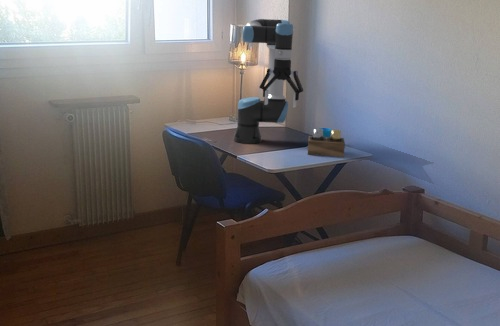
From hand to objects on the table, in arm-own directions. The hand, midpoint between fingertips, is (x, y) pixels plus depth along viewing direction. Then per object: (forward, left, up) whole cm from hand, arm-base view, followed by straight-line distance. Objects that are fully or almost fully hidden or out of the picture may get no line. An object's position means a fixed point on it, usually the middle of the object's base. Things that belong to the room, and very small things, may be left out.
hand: (280, 105), depth 260 cm
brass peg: (-27, +28, -22) cm, 45 cm away
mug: (-46, +24, -28) cm, 59 cm away
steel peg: (-27, +19, -22) cm, 40 cm away
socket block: (-27, +23, -27) cm, 45 cm away
